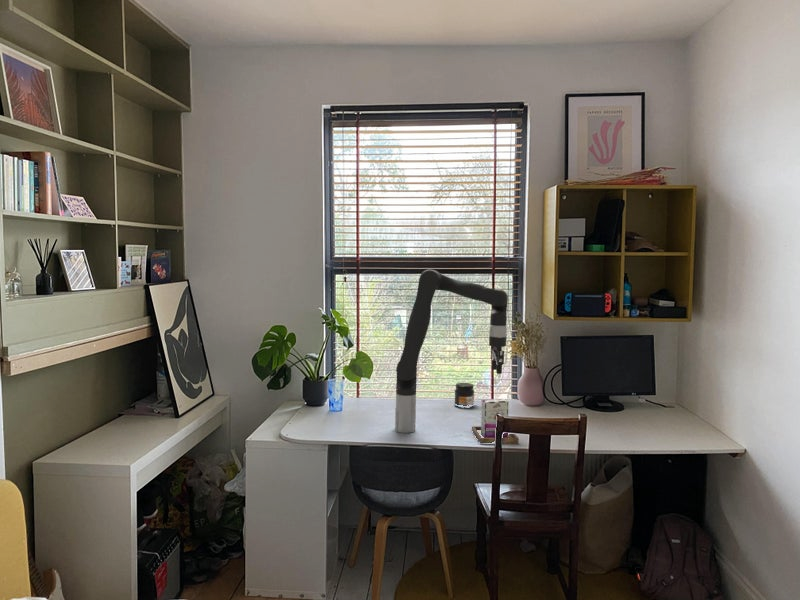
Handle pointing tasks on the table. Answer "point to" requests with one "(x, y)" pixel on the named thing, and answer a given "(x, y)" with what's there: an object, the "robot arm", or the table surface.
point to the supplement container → (464, 394)
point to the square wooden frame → (505, 440)
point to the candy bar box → (492, 416)
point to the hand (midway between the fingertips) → (496, 371)
